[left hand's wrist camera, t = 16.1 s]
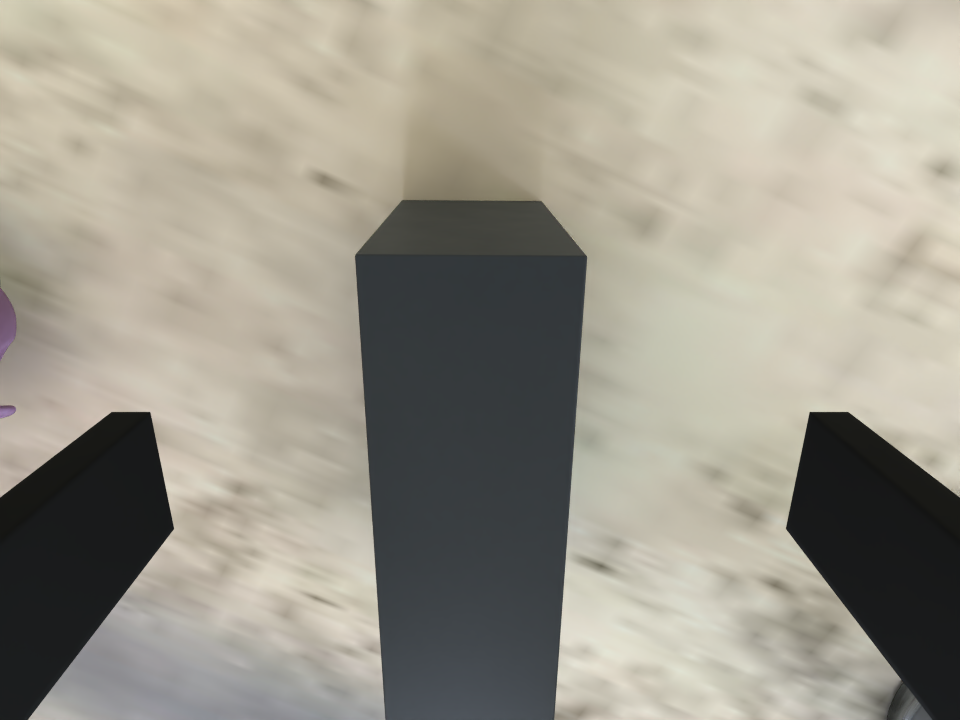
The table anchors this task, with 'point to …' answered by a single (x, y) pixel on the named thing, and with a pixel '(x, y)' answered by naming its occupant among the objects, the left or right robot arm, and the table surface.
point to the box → (470, 451)
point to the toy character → (6, 338)
